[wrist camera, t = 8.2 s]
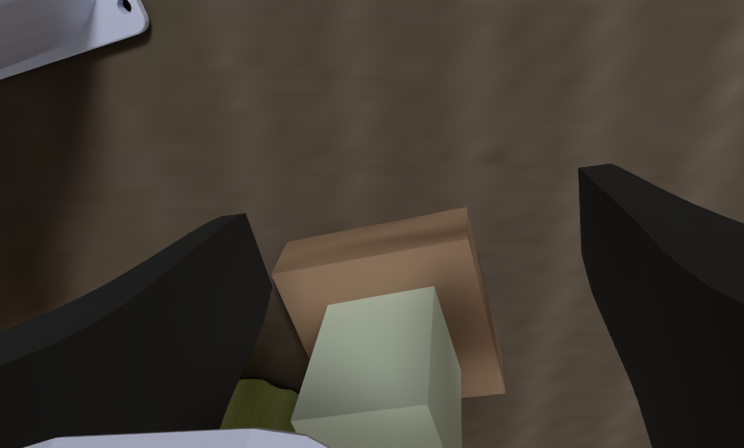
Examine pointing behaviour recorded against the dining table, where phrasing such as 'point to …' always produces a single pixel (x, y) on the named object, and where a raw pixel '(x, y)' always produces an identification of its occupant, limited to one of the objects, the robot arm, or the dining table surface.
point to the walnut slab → (399, 283)
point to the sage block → (383, 376)
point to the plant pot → (260, 406)
